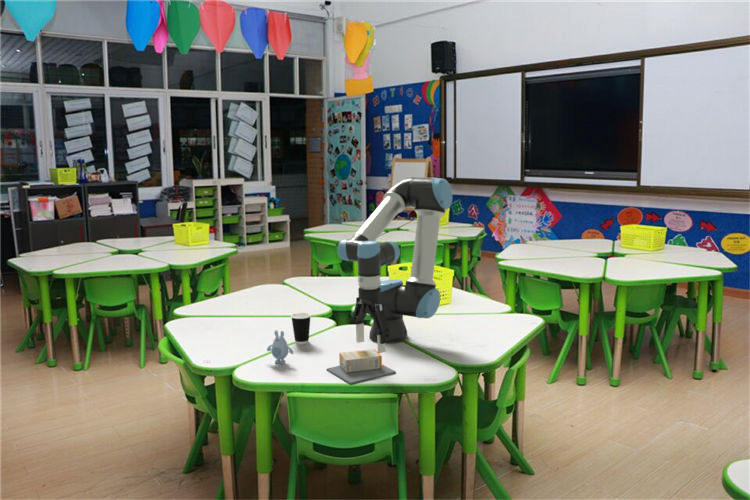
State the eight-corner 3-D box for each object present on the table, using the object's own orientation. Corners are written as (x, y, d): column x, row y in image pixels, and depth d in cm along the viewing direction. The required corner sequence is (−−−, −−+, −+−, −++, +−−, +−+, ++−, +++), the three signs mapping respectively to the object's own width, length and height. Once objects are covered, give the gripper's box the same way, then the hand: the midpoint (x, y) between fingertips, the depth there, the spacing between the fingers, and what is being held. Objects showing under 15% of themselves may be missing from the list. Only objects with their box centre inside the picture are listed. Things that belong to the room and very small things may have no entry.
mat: (370, 360, 234) (370, 358, 234) (395, 373, 220) (395, 371, 220) (326, 370, 224) (326, 368, 224) (350, 384, 211) (350, 382, 211)
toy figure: (263, 364, 231) (261, 331, 229) (271, 358, 237) (270, 326, 235) (289, 367, 227) (288, 334, 225) (297, 361, 233) (296, 329, 231)
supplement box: (374, 361, 231) (339, 365, 227) (374, 348, 230) (339, 352, 226) (382, 369, 223) (345, 373, 219) (382, 355, 222) (345, 359, 218)
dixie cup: (315, 343, 253) (314, 316, 251) (295, 346, 250) (294, 319, 248) (307, 338, 260) (306, 311, 258) (288, 341, 257) (287, 314, 255)
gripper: (341, 281, 228) (343, 339, 231) (380, 295, 207) (381, 359, 211) (359, 278, 232) (360, 335, 235) (399, 292, 211) (400, 354, 215)
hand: (370, 347), depth 223 cm, fingers open, 13 cm apart
